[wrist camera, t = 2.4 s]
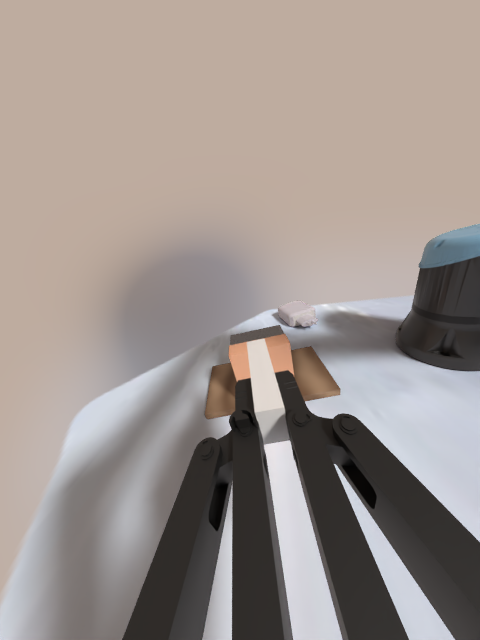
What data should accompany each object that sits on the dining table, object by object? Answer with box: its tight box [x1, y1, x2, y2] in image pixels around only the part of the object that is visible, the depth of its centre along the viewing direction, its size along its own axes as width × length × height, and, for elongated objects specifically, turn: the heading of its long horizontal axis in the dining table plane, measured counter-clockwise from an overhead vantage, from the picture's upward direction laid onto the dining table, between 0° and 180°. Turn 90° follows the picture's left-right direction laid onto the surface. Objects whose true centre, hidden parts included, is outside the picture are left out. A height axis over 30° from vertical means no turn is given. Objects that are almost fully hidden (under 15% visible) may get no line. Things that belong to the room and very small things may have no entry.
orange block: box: [229, 334, 294, 381], centre depth 36 cm, size 10×9×12 cm
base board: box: [205, 346, 340, 419], centre depth 41 cm, size 26×14×2 cm, turn 92°
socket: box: [230, 325, 284, 345], centre depth 42 cm, size 12×6×8 cm, turn 92°
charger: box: [278, 300, 318, 327], centre depth 60 cm, size 5×9×15 cm
